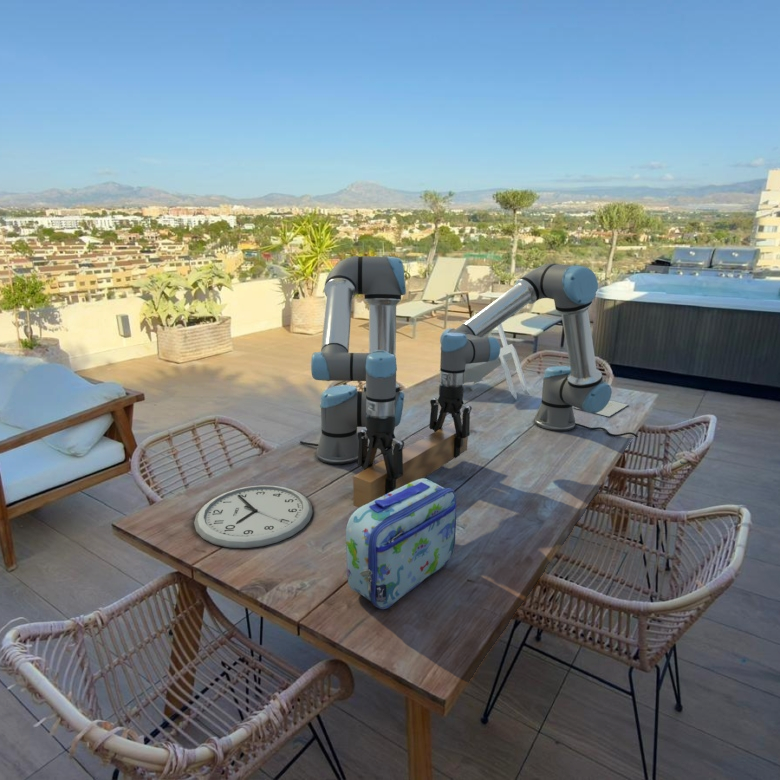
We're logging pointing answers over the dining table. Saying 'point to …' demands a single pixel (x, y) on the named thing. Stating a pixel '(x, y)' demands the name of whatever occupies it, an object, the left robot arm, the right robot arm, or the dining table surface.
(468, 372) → the white plastic object
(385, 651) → the dining table surface
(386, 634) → the dining table surface
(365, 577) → the lunch box
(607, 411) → the invitation card
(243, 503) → the wall clock
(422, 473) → the post
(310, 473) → the dining table surface
